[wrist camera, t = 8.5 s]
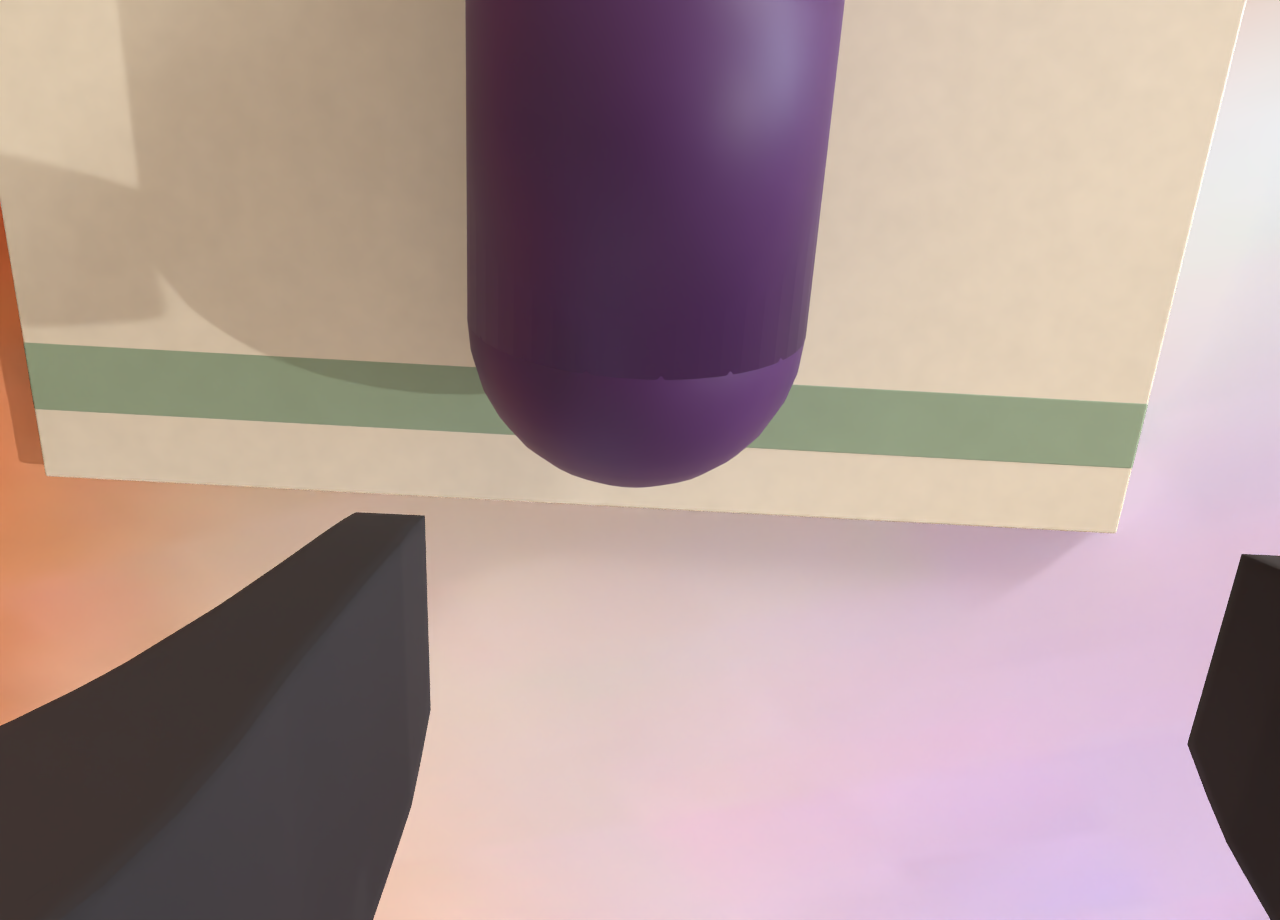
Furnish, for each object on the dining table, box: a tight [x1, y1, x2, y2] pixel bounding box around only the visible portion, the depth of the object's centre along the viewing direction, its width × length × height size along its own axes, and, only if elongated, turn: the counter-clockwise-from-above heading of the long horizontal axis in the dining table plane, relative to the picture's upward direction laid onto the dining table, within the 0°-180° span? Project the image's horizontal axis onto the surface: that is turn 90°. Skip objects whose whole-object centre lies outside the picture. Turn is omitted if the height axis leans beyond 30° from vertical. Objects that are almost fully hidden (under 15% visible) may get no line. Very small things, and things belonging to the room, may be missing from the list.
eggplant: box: [465, 0, 845, 488], centre depth 15 cm, size 12×5×5 cm, turn 177°
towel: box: [0, 0, 1246, 533], centre depth 18 cm, size 18×14×1 cm
